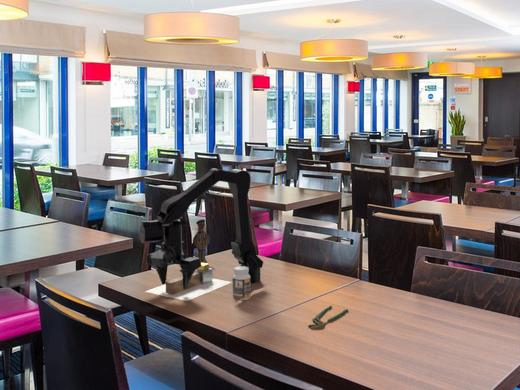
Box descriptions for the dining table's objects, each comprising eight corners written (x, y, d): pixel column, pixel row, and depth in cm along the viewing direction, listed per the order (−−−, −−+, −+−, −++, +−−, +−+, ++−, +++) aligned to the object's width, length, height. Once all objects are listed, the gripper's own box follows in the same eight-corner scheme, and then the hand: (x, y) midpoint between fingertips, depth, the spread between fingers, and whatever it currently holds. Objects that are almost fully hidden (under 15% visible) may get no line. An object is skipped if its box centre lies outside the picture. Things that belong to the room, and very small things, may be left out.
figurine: (197, 268, 233) (195, 221, 230) (189, 265, 236) (188, 219, 234) (213, 264, 237) (212, 219, 235) (205, 262, 241) (204, 217, 238)
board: (232, 285, 210) (232, 282, 210) (186, 304, 190) (186, 300, 190) (192, 277, 220) (192, 274, 220) (144, 294, 200) (144, 291, 200)
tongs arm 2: (196, 283, 208) (196, 272, 208) (199, 283, 207) (199, 273, 207) (168, 293, 197) (168, 282, 196) (171, 294, 196) (171, 283, 195)
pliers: (330, 308, 187) (330, 304, 187) (350, 311, 184) (350, 307, 183) (299, 328, 170) (299, 323, 170) (320, 332, 167) (320, 327, 167)
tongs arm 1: (193, 282, 209) (193, 272, 208) (196, 282, 208) (196, 272, 208) (165, 292, 197) (165, 282, 197) (168, 293, 197) (168, 282, 196)
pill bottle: (248, 301, 193) (248, 270, 191) (230, 300, 194) (230, 269, 192) (252, 295, 198) (252, 266, 197) (235, 295, 199) (234, 265, 198)
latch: (201, 267, 212) (201, 262, 212) (209, 268, 210) (209, 263, 210) (195, 269, 210) (195, 264, 210) (203, 270, 208) (203, 265, 208)
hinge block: (202, 279, 214) (202, 266, 214) (212, 281, 212) (212, 268, 211) (193, 282, 210) (192, 270, 209) (203, 284, 208) (202, 271, 207)
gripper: (133, 240, 195) (135, 288, 197) (178, 247, 185) (179, 297, 187) (158, 234, 204) (159, 280, 206) (201, 241, 194) (202, 288, 196)
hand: (174, 286), depth 199 cm, fingers open, 9 cm apart
